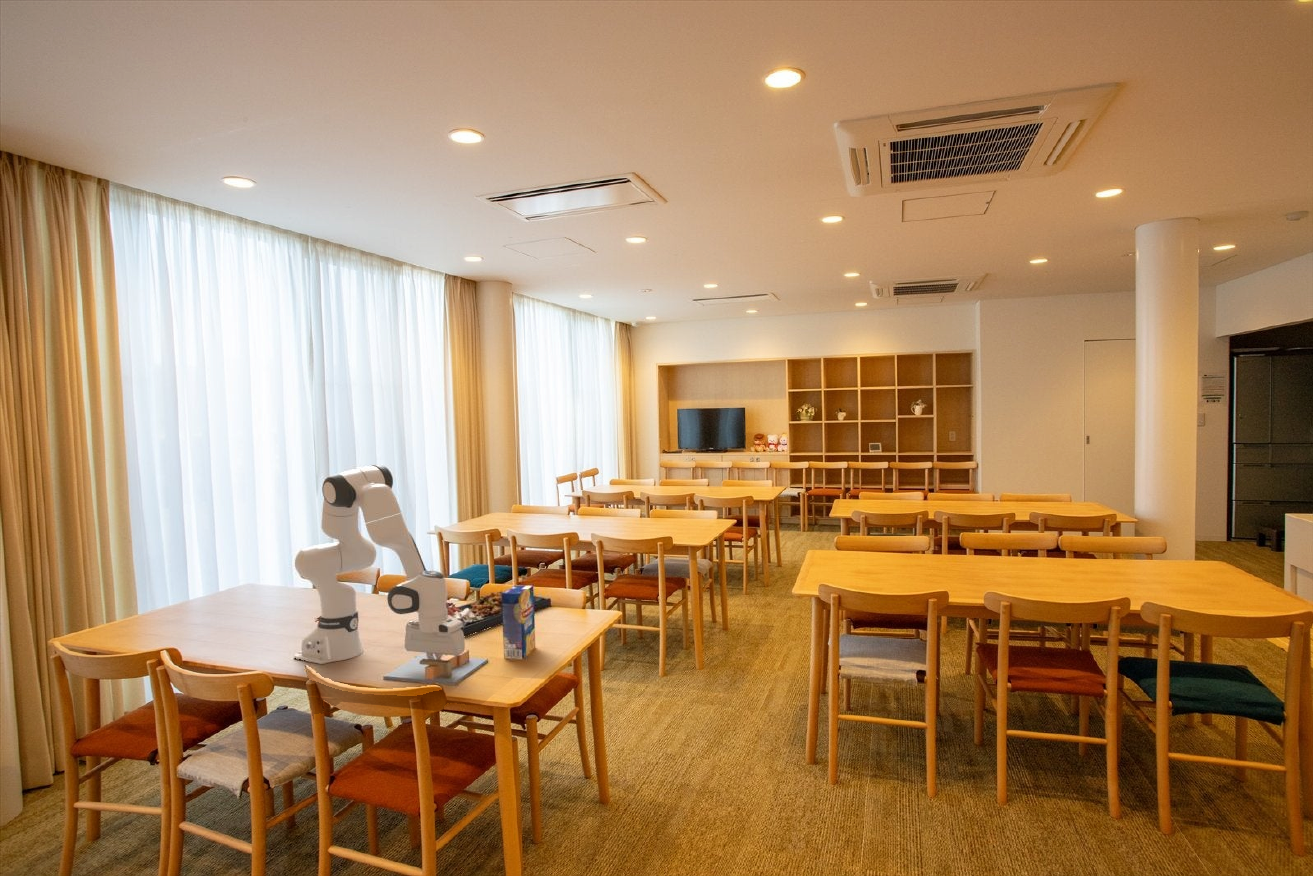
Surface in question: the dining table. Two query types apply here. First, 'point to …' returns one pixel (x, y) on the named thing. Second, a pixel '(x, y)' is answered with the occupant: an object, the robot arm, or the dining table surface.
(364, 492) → the robot arm
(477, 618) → the food platter
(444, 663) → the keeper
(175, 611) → the dining table surface
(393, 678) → the board
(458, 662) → the link
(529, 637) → the beverage box
